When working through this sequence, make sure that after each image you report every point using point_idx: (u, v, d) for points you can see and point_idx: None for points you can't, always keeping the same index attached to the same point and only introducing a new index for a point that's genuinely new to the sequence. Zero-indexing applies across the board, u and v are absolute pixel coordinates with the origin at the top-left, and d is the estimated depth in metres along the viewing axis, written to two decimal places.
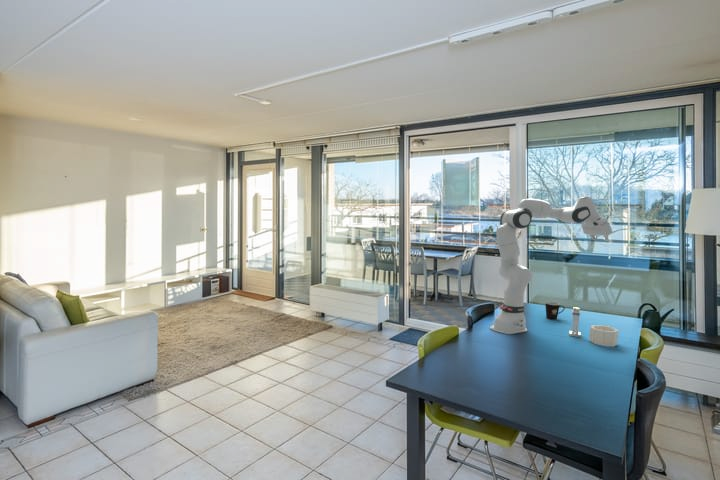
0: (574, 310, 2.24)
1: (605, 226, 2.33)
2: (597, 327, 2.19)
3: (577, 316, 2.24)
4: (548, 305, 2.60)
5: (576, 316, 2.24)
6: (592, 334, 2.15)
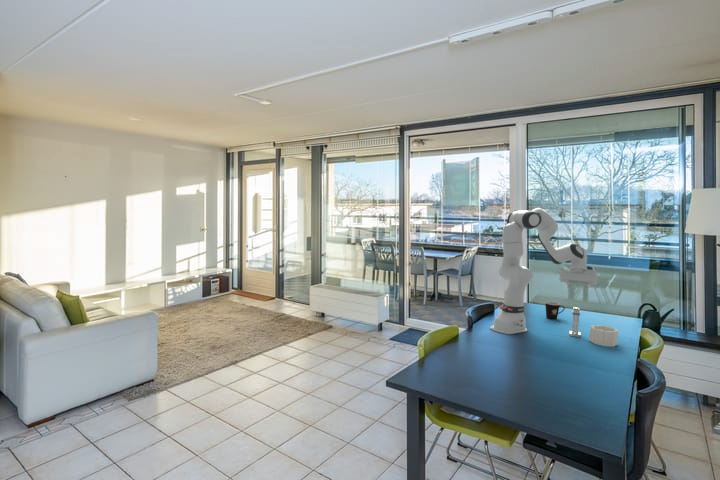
0: (574, 310, 2.24)
1: None
2: (597, 327, 2.19)
3: (577, 316, 2.24)
4: (548, 305, 2.60)
5: (576, 316, 2.24)
6: (592, 334, 2.15)
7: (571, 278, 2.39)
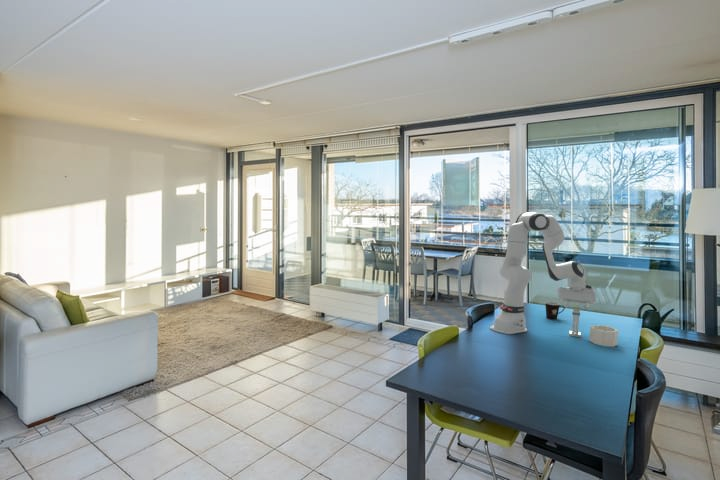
0: (574, 310, 2.24)
1: None
2: (597, 327, 2.19)
3: (577, 316, 2.24)
4: (548, 305, 2.60)
5: (576, 316, 2.24)
6: (592, 334, 2.15)
7: (570, 297, 2.35)
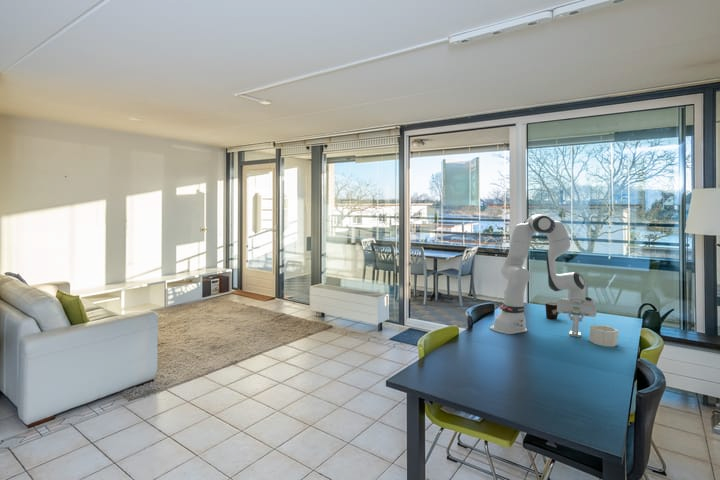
0: (574, 310, 2.24)
1: None
2: (597, 327, 2.19)
3: (577, 316, 2.24)
4: (548, 305, 2.60)
5: (576, 316, 2.24)
6: (592, 334, 2.15)
7: (569, 309, 2.29)
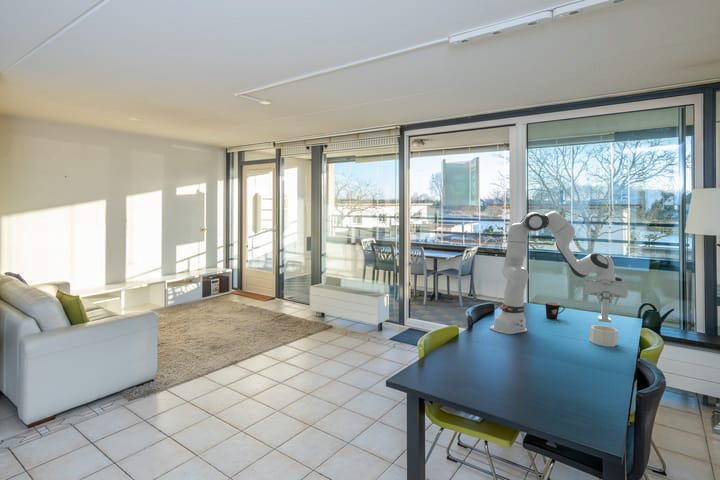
0: (604, 294, 2.12)
1: None
2: (597, 327, 2.19)
3: (607, 300, 2.11)
4: (548, 305, 2.60)
5: (606, 300, 2.12)
6: (592, 334, 2.15)
7: (598, 290, 2.16)
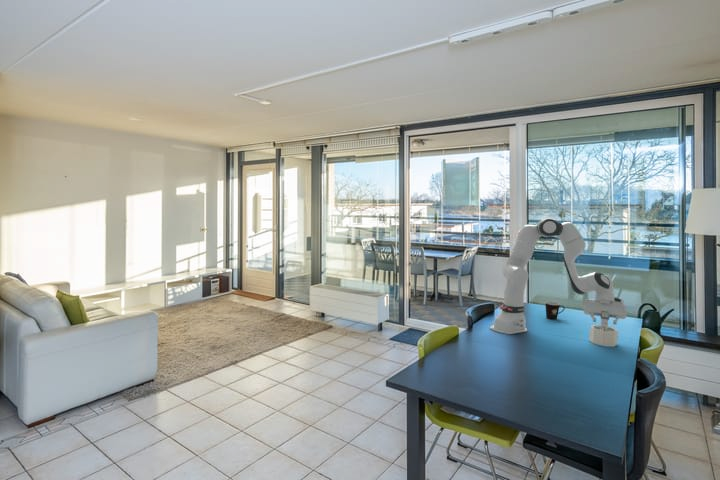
0: (603, 314, 2.13)
1: None
2: (597, 327, 2.19)
3: (606, 320, 2.13)
4: (548, 305, 2.60)
5: (605, 320, 2.13)
6: (592, 334, 2.15)
7: (597, 311, 2.17)
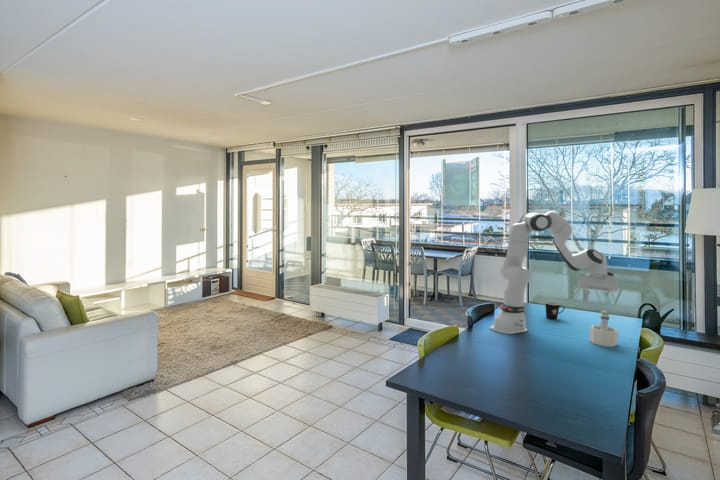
0: (603, 314, 2.13)
1: None
2: (597, 327, 2.19)
3: (606, 320, 2.13)
4: (548, 305, 2.60)
5: (605, 320, 2.13)
6: (592, 334, 2.15)
7: (590, 284, 2.30)
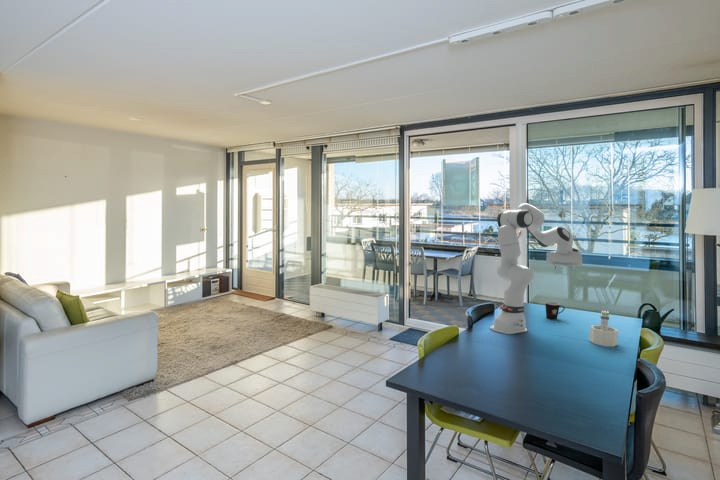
0: (603, 314, 2.13)
1: None
2: (597, 327, 2.19)
3: (606, 320, 2.13)
4: (548, 305, 2.60)
5: (605, 320, 2.13)
6: (592, 334, 2.15)
7: (557, 260, 2.47)
